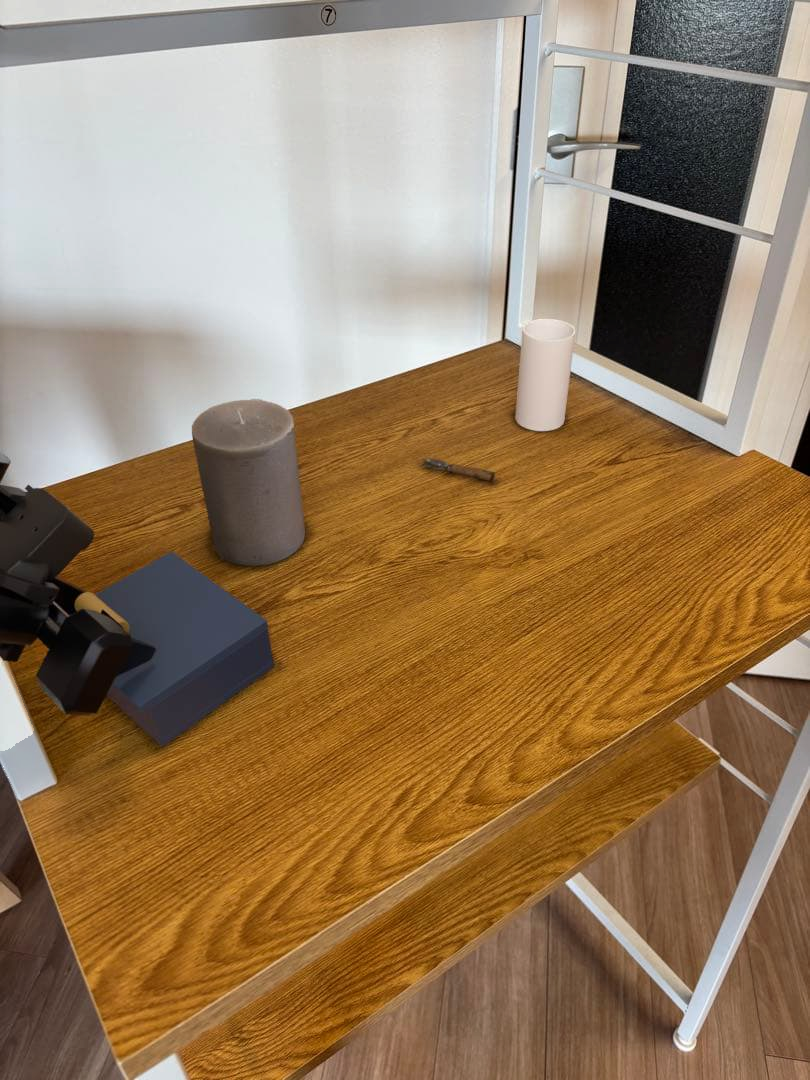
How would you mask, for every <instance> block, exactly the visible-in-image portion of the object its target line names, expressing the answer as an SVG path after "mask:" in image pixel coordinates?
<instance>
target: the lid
mask: <svg viewBox="0 0 810 1080" xmlns="http://www.w3.org/2000/svg"><path fill="white" fill-rule="evenodd" d="M75 609H76V611H79V610H81V609H88V610H94V611H97V612H99V613H101V611H102V610H104V611H106V612H107V613H108V614H109V615H110V616H111V617H112V618H114V619H115V620H116V621H117V622H118V623H119V624H120V625H121V626H122V627H123V629H124V630H125V631H126V632H127V633H128V634H129V635H131V637H132V638H134V639H137V640H140V641H142V642H145V643H147V644H150V645H152V646H154V647H155V648H156V651H155V653H154V655H153V657H152V659H151V660H150V661H148V662H146V663H144V664H142V665H140V666H138V667H136V668H133V669H131V670H129V671H127V672H125V673H123V674H121V675H119V676H117V677H116V678H115V680H114V682H113V683H112V685H111V686H112V687H113V688H114V689H115V690H116V691H117V692H118V693H119V694H120V695H121V696H122V697H124V698H125V699H126V700H127V701H128V702H129V703H130V704H131V705H132V706H133V707H134V708H135V709H136V710H137V711H139V712H140V713H142V712H144V711H145V710H147V709H148V708H150V707H151V706H153V705H154V704H156V703H157V702H159V701H160V700H161V699H163V698H164V697H166V696H167V695H169V694H170V693H172V692H173V691H175V690H176V689H178V688H179V687H181V686H182V685H183V684H185V683H186V682H188V681H189V680H191V679H192V678H194V677H195V676H197V675H198V674H200V673H201V672H203V671H204V670H206V669H207V668H208V667H210V666H211V665H213V664H214V663H216V662H217V661H219V660H220V659H222V658H223V657H225V656H226V655H228V654H229V653H231V652H232V651H233V650H235V649H236V648H238V647H239V646H241V645H242V644H244V643H245V642H247V641H248V640H250V639H251V638H253V637H254V636H255V635H257V634H258V633H260V632H261V631H263V630H264V629H266V628H268V626H269V625H268V620H267V619H266V618H264V617H263V616H261V615H260V614H258V612H256V611H255V610H253V609H252V608H251V607H249V606H247V605H246V604H245V603H244V602H243V601H241V600H240V599H238V598H237V597H235V596H234V595H233V594H231V593H230V592H229V591H227V590H225V588H223V587H221V586H220V585H219V584H217V583H216V582H214V581H213V580H212V579H211V578H209V577H208V576H206V575H205V574H203V573H202V572H201V571H199V570H198V569H197V568H195V567H194V566H193V565H191V564H190V563H189V562H187V561H185V560H184V559H183V558H181V557H180V556H178V555H177V554H176V553H174V552H173V551H169V552H167V553H166V554H163V555H162V556H161V557H159V558H157V559H155V560H153V561H152V562H150V563H148V564H146V565H144V566H143V567H141V568H139V569H138V570H135V571H134V572H132V573H130V574H128V575H127V576H125V577H123V578H121V579H119V580H117V581H116V582H114V583H113V584H111V585H109V586H108V587H106V588H104V589H102V590H100V591H98V592H96V593H95V594H94V593H93V592H90V591H86V593H83V594H81V595H80V596H79V597H78V598H77V599H76V601H75ZM71 615H72V614H71ZM69 616H70V615H69Z"/></svg>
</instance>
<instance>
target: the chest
mask: <svg viewBox="0 0 810 1080" xmlns="http://www.w3.org/2000/svg"><path fill="white" fill-rule="evenodd" d="M270 639H271V638H270V633H269V628H268V627H267V628H266V629H264V630H263V631H261V632H260V633H258V634H257V635H255V636H254V637H253V638H251V639H250V640H248V641H247V642H245V643H244V644H242V645H241V646H239V647H238V648H236V649H235V650H233V651H232V652H231V653H229V654H228V655H226V656H225V657H223V658H222V659H220V660H219V661H217V662H216V663H214V664H213V665H211V666H210V667H208V668H207V669H206V670H204V671H203V672H201V673H200V674H198V675H197V676H195V677H194V678H192V679H191V680H189V681H188V682H186V683H185V684H183V685H182V686H181V687H179V688H178V689H176V690H175V691H173V692H172V693H170V694H169V695H167V696H166V697H164V698H163V699H161V700H160V701H159V702H157V703H156V704H154V705H153V706H151V707H150V708H148V709H147V710H145V711H144V712H142V713H140V712H139V711H137V710H136V709H135V708H134V707H133V706H132V705H131V704H130V703H129V702H128V701H127V700H126V699H125V698H124V697H122V696H121V695H120V694H119V693H118V692H117V691H116V690H115V689H114V688H113V687H112V686H111V687H110V689H109V691H108V693H107V695H106V696H107V697H108V698H110V699H111V701H113V702H114V703H115V704H116V705H117V706H118V707H119V708H120V709H121V710H122V711H123V712H124V713H125V714H126V715H128V716H129V717H130V718H131V719H132V720H133V721H134V722H135V723H136V724H137V725H138V726H139V727H140V728H141V729H143V731H144V732H145V733H147V734H148V735H149V736H150V737H151V739H153V740H154V741H155V743H157V744H158V746H160V747H162V748H164V747H165V746H167V745H168V744H169V743H171V742H172V741H174V740H175V739H176V738H178V737H179V736H180V735H182V734H183V733H185V732H186V731H188V730H189V729H190V728H191V727H193V726H194V725H196V724H197V723H199V722H200V721H201V720H202V719H204V718H205V717H207V716H208V715H210V714H211V713H212V712H214V711H215V710H216V709H218V708H220V706H222V705H223V704H225V703H226V702H228V701H229V700H230V699H232V698H233V697H234V696H236V695H237V694H238V693H240V692H241V691H243V690H244V689H246V688H247V687H249V685H251V684H252V683H254V682H256V681H257V680H258V679H259V678H261V677H262V676H264V675H265V674H266V673H268V672H269V671H271V670H272V669H273V668H274V667H275V663H274V656H273V651H272V644H271V640H270Z"/></svg>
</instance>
